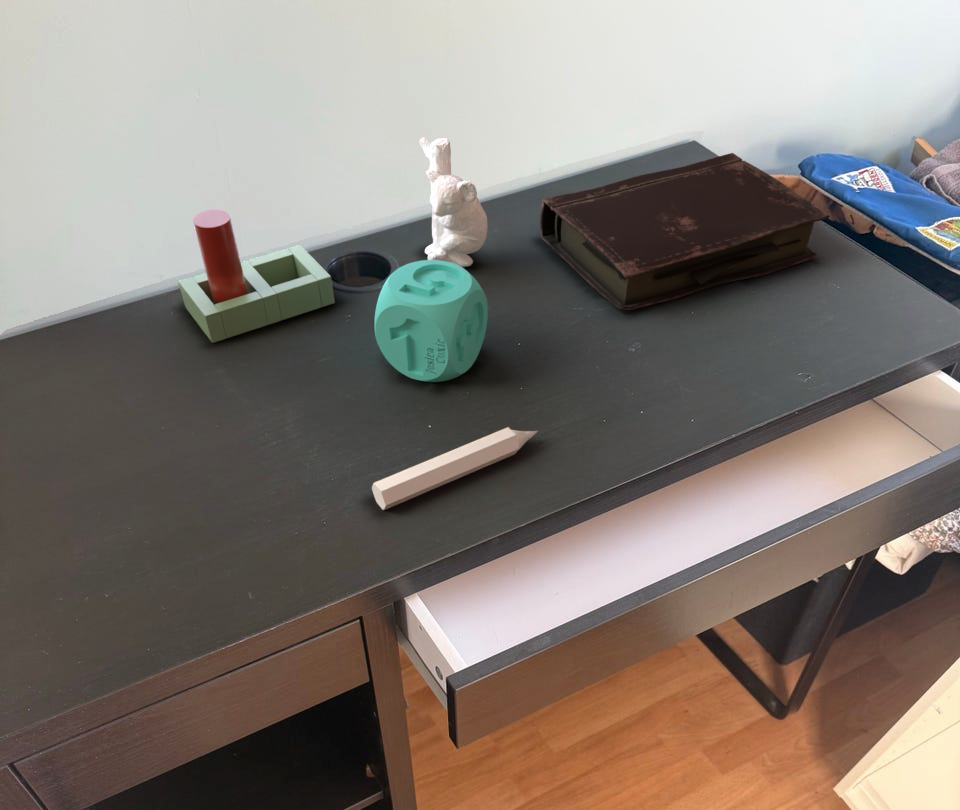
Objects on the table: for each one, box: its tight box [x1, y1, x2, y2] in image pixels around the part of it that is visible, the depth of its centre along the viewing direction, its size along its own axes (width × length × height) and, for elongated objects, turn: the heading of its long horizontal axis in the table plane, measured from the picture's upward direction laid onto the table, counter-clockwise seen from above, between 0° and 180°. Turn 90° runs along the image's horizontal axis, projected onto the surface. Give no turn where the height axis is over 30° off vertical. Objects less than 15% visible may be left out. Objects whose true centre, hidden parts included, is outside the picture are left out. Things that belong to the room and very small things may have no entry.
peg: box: [192, 208, 248, 305], centre depth 88 cm, size 4×4×10 cm
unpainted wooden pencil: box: [371, 426, 539, 511], centre depth 77 cm, size 3×2×16 cm
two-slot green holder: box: [177, 244, 336, 344], centre depth 92 cm, size 14×8×3 cm, turn 122°
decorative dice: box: [373, 259, 489, 383], centre depth 84 cm, size 8×8×8 cm
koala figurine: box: [418, 136, 489, 268], centre depth 94 cm, size 8×7×12 cm
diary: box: [539, 152, 830, 311], centre depth 98 cm, size 19×25×5 cm
